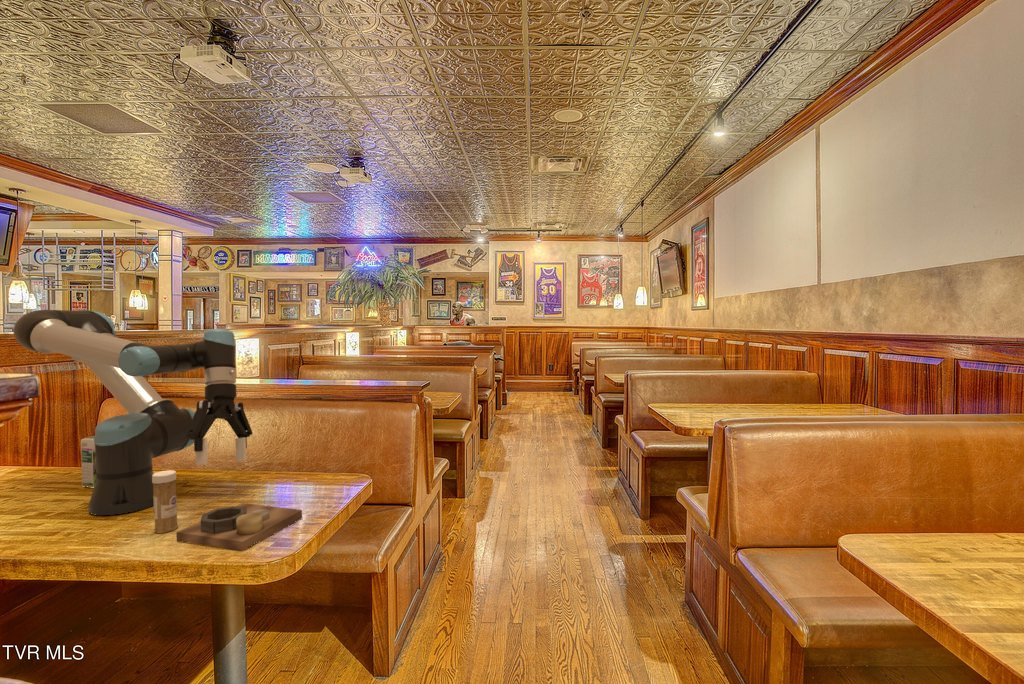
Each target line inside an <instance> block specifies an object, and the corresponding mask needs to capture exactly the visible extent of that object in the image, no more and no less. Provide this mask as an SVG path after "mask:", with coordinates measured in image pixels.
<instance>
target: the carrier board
mask: <svg viewBox="0 0 1024 684" xmlns="http://www.w3.org/2000/svg"><path fill="white" fill-rule="evenodd" d="M301 518H302V519H303V510H302V509H296V508H287V507H280V506H279V507H278V506H270V505H260V504H252V503H244V502H242V503H239V504H238V505H237V504H236V505H231V506H227V507H220V508H216V509H213V510H210V511H208V512H206V513H205V512H204V513H203V514H202V515H201V518H200V521H199V522H195V523H194V524H191V525H189V526H186V527H185V528H183V529H181V530H178V531H176V533H175V534H176V536H175V537H176V542H179V541H183V542H182V543H186V542H190V543H189V544H192V543H196V544H195V545H199V544H202V545H201V546H205V545H209V546H208V547H212V546H214V547H213V548H218V547H221V548H220V549H225V548H227V549H226V550H231V551H232V550H233V551H238V550H239V551H241V552H244V551H246V550H247V549H246V548H248V547H249V548H251V547H252V546H251V545H253V544H254V543H256V542H258V543H260V542H262V541H263V539H264V540H265V538H266V539H267V538H269V537H271V536H273V535H274V533H275V534H276V533H278V532H280V531H282V530H283V528H284V529H285V528H287V527H289V526H290V524H291V525H292V523H293V524H294V523H296V522H298V521H300V520H302V519H301ZM299 519H300V520H299ZM297 520H298V521H297ZM295 521H296V522H295ZM288 525H289V526H288ZM281 529H282V530H281ZM272 534H273V535H272ZM261 540H262V541H261ZM259 541H260V542H259ZM250 546H251V547H250ZM253 546H254V545H253ZM249 548H248V549H249ZM245 549H246V550H245ZM243 550H244V551H243ZM239 551H238V552H239Z"/></svg>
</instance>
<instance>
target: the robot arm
mask: <svg viewBox="0 0 1024 684" xmlns="http://www.w3.org/2000/svg"><path fill="white" fill-rule="evenodd" d="M115 328H116V325H115V323H114V322H113V320H112V319H111V318H110V317H109V316H108V315H106V314H105V313H102V312H100V311H95V310H93V311H92V310H90V309H89V310H88V309H79V310H69V309H59V310H58V309H40V310H39V309H38V310H34V311H33V310H32V311H29V312H28V313H25V314H24V315H22V316H20V318H18V320H17V321H16V322H15V324H14V326H13V337H14V339H15V341H17V342H16V343H18V344H19V345H20V346H21V347H22V348H24V349H27V350H29V351H32V352H37V353H41V354H45V355H46V354H47V355H49V354H54V353H57V354H61V355H64V356H68V357H70V358H71V359H72V360H73V361H75V362H79V363H84V364H85V366H86V367H87V368H88V369H89V370H90V371H91V372H92V373H93V374H94V376H95V377H96V378H97V379H98V380H99V381H100V382H101V384H102V385H103V386H104V387H105V388H106V389H107V390H108V392H109V393H111V395H112V396H113V397H114V398H115V400H116V401H118V403H119V404H120V405H121V406H122V407H123V408H124V410H126V412H127V413H126V414H121V415H116V416H113V417H108V418H107V419H104V420H101V421H100V422H99V423H98V424H97V425H96V426H95V430H94V436H95V438H94V443H95V454H96V475H97V481H96V485H95V487H94V488H93V491H92V494H91V497H90V500H89V502H88V513H89V512H90V513H92V514H96V515H111V516H116V515H115V514H119V515H123V514H122V513H125V514H129V513H128V512H130V513H133V512H134V511H135V512H138V510H139V511H141V510H145V509H148V508H150V507H154V501H153V496H154V493H153V492H154V490H153V483H152V475H153V474H154V471H153V459H154V458H158V457H161V456H165V455H168V454H170V453H171V454H172V453H174V452H180V451H182V450H185V449H186V448H189V447H191V446H192V445H193V450H194V452H195V466H203V465H207V464H208V438H207V437H205V436H206V435H207V433H208V432H209V430H210V429H211V427H212V426H213V424H214V423H215V421H216V420H217V419H220V420H224V421H226V422H227V423H228V425H229V426H230V428H231V430H232V431H233V433H235V435H236V437H237V438H235V441H234V442H235V462H236V463H240V462H245V461H247V448H248V443H247V442H248V441H247V439H248V437H251V435H253V431H252V427H251V425H250V422H249V420H248V418H247V414H246V412H245V409H244V404H243V402H237V403H235V402H234V401H235V399H236V398H237V395H238V394H237V385H236V384H235V383H236V382H237V380H236V379H237V377H236V341H235V340H236V339H235V334H234V332H233V331H232V330H229V329H225V328H224V329H223V328H211V329H208V330H206V331H204V333H203V338H202V339H203V340H200V341H196V342H190V343H184V344H183V343H182V344H179V343H178V344H163V345H150V344H145V343H141V342H137V341H134V340H129V339H125V338H120V337H116V336H117V331H116V330H115ZM198 369H204V381H203V382H204V385H205V387H204V399H205V400H200V401H197V402H196V410H195V411H194V410H192V409H190V408H184V407H183V408H182V407H181V408H179V406H178V405H177V404H176V403H175V402H174V401H173V400H172V399H170V398H162V397H161V395H160V394H159V393H158V392H157V391H156V390H155V388H154V387H153V386H152V385H151V384H150V383H149V382H148V381H147V380H146V379H145V378H144V377H147V376H154V375H160V374H161V375H162V374H168V373H169V374H171V373H177V374H178V373H188V372H190V371H194V370H198ZM90 513H89V514H90Z"/></svg>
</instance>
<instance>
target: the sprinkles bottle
mask: <svg viewBox="0 0 1024 684" xmlns="http://www.w3.org/2000/svg"><path fill="white" fill-rule="evenodd" d="M176 481H177V471H176V470H173V469H171V470H170V469H167V470H161V471H160V470H159V471H157V472H153V475H152V483H153V490H154V492H153V493H154V496H153V501H154V505H153V518H154V533H156V534H166V533H169V532H172V531H174V530H176V529H178V527H179V524H178V501H177V487H176V485H177V484H176V483H177V482H176Z"/></svg>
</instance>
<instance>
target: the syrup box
mask: <svg viewBox="0 0 1024 684" xmlns="http://www.w3.org/2000/svg"><path fill="white" fill-rule="evenodd" d="M94 438H95V435H93V436H88V437H84V438H81V439H80V453H81V456H80V458H81V487H82V486H86V487H87V486H88V487H95V485H96V481H97V475H96V454H95V443H94Z"/></svg>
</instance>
